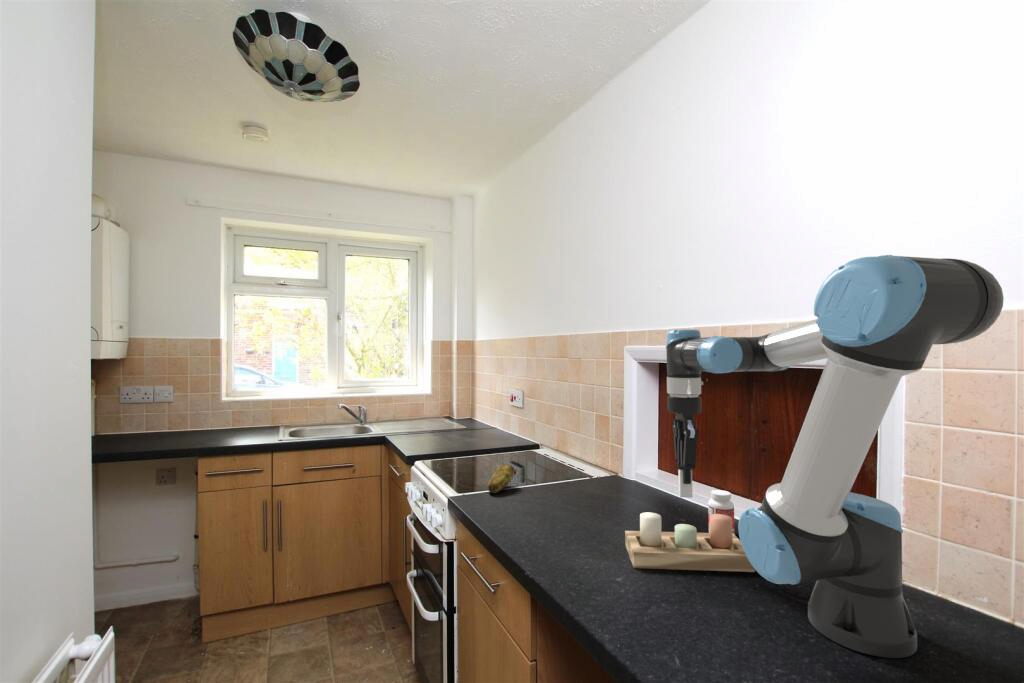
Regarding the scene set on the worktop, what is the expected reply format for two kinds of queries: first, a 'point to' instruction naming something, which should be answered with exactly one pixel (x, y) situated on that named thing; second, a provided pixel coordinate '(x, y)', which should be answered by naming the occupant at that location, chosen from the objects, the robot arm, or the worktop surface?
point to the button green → (685, 536)
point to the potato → (500, 478)
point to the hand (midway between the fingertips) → (685, 496)
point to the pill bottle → (721, 505)
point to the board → (686, 554)
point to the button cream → (650, 529)
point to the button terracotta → (721, 531)
